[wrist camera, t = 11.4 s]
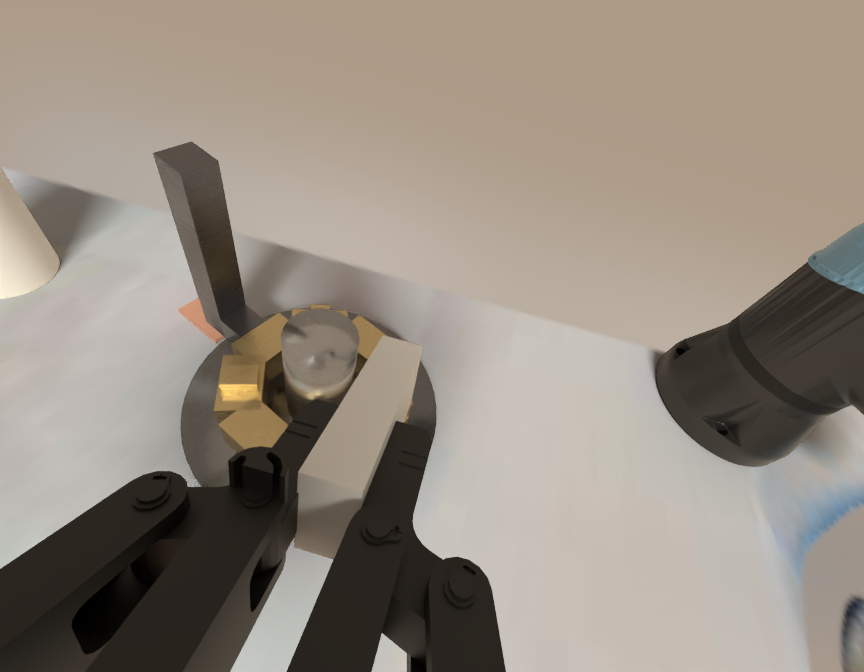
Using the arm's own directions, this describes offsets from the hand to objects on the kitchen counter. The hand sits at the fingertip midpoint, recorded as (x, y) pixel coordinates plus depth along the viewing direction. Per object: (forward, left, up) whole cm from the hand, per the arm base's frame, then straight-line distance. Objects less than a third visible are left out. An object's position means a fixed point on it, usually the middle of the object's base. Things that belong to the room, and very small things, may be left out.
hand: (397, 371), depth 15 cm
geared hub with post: (+5, -10, -18) cm, 22 cm away
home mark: (+14, -18, -21) cm, 31 cm away
